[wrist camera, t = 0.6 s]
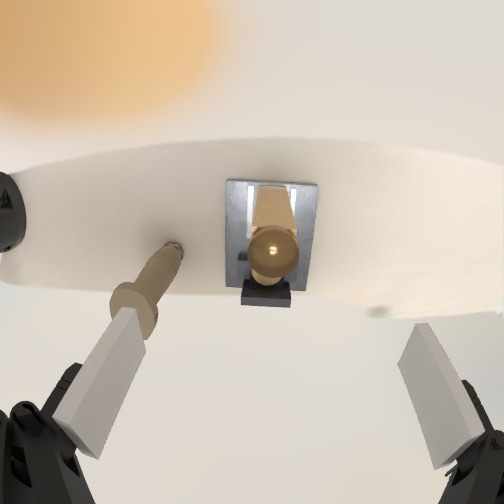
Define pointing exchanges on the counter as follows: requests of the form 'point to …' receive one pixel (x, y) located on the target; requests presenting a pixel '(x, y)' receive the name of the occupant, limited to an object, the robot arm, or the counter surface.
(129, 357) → the robot arm
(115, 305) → the handle
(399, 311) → the counter surface
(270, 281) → the round brown knob
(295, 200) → the slotted metal plate
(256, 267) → the lever
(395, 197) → the counter surface
